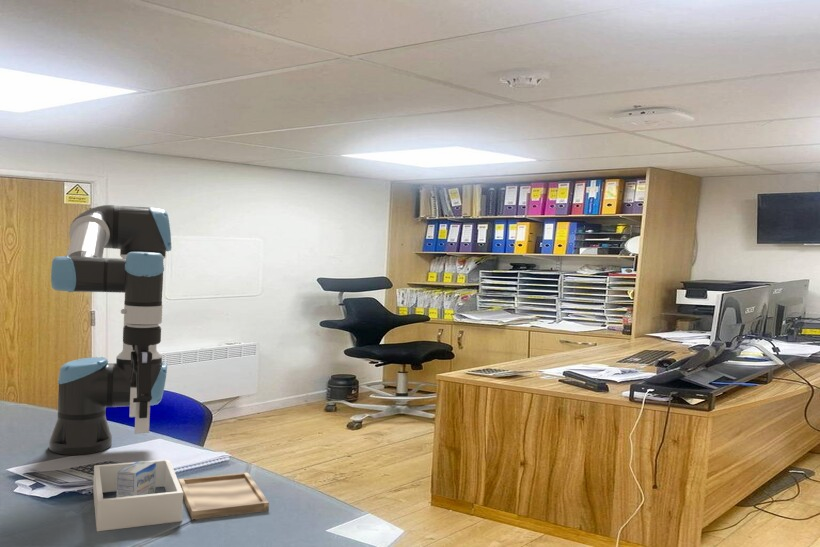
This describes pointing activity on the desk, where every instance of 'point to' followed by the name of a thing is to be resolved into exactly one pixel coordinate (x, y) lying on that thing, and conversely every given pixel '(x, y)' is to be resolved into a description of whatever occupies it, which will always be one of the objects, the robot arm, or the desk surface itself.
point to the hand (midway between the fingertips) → (138, 424)
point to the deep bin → (136, 499)
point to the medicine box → (136, 479)
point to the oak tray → (222, 495)
